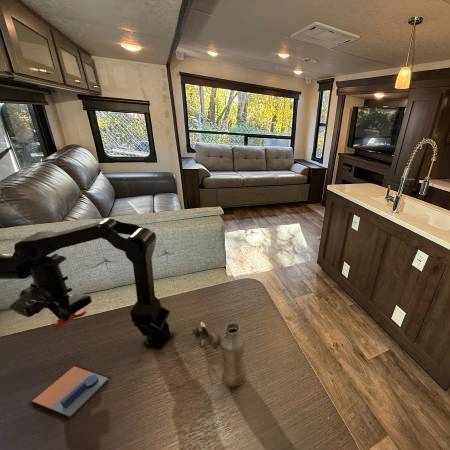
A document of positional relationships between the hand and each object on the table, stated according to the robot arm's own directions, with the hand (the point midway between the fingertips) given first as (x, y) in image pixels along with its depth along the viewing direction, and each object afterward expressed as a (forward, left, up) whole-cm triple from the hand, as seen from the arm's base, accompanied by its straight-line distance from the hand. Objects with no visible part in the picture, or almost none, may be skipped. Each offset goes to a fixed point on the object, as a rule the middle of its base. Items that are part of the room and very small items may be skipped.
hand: (64, 319), depth 74 cm
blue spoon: (-17, +11, -9) cm, 23 cm away
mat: (-14, +11, -10) cm, 21 cm away
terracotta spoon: (0, -1, -1) cm, 2 cm away
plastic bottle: (-53, -5, -10) cm, 55 cm away
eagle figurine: (-38, -14, -10) cm, 42 cm away
